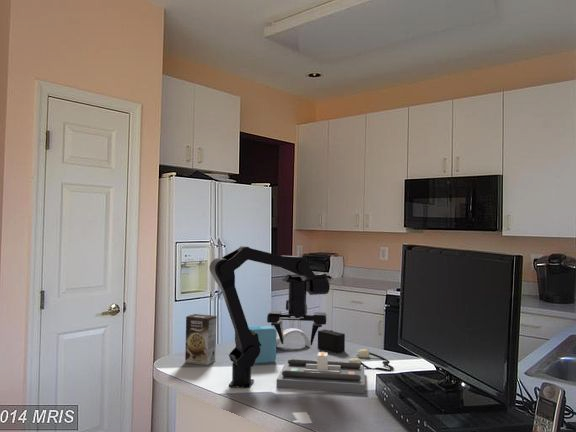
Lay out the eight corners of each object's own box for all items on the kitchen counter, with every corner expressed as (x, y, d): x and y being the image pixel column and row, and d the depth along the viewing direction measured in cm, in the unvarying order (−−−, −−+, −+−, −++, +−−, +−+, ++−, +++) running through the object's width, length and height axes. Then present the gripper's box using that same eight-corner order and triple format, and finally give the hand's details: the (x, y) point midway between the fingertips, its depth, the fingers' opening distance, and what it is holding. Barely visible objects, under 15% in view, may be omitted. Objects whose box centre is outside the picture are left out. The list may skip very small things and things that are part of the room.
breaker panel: (364, 393, 135) (364, 378, 135) (276, 387, 139) (276, 373, 139) (364, 373, 153) (364, 360, 153) (285, 369, 157) (286, 356, 157)
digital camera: (347, 351, 180) (347, 333, 180) (338, 353, 176) (338, 335, 177) (326, 346, 188) (326, 328, 188) (317, 348, 184) (317, 330, 184)
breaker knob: (326, 373, 144) (326, 355, 144) (317, 373, 144) (317, 355, 144) (327, 369, 148) (327, 351, 148) (318, 369, 148) (318, 351, 148)
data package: (273, 358, 169) (273, 325, 169) (276, 362, 165) (276, 328, 165) (240, 360, 166) (240, 327, 166) (242, 364, 161) (243, 329, 162)
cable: (399, 361, 170) (399, 351, 170) (392, 374, 154) (392, 364, 154) (356, 356, 175) (356, 346, 175) (346, 368, 160) (346, 358, 160)
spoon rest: (253, 353, 177) (253, 334, 177) (248, 345, 188) (248, 327, 188) (312, 349, 183) (313, 331, 183) (304, 342, 194) (304, 325, 194)
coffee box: (184, 362, 163) (185, 316, 163) (193, 357, 169) (194, 313, 169) (207, 365, 160) (208, 318, 160) (216, 360, 166) (217, 315, 166)
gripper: (327, 292, 156) (326, 339, 156) (272, 291, 158) (271, 337, 158) (326, 298, 145) (325, 348, 145) (267, 296, 147) (266, 345, 147)
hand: (296, 344), depth 149 cm, fingers open, 9 cm apart
